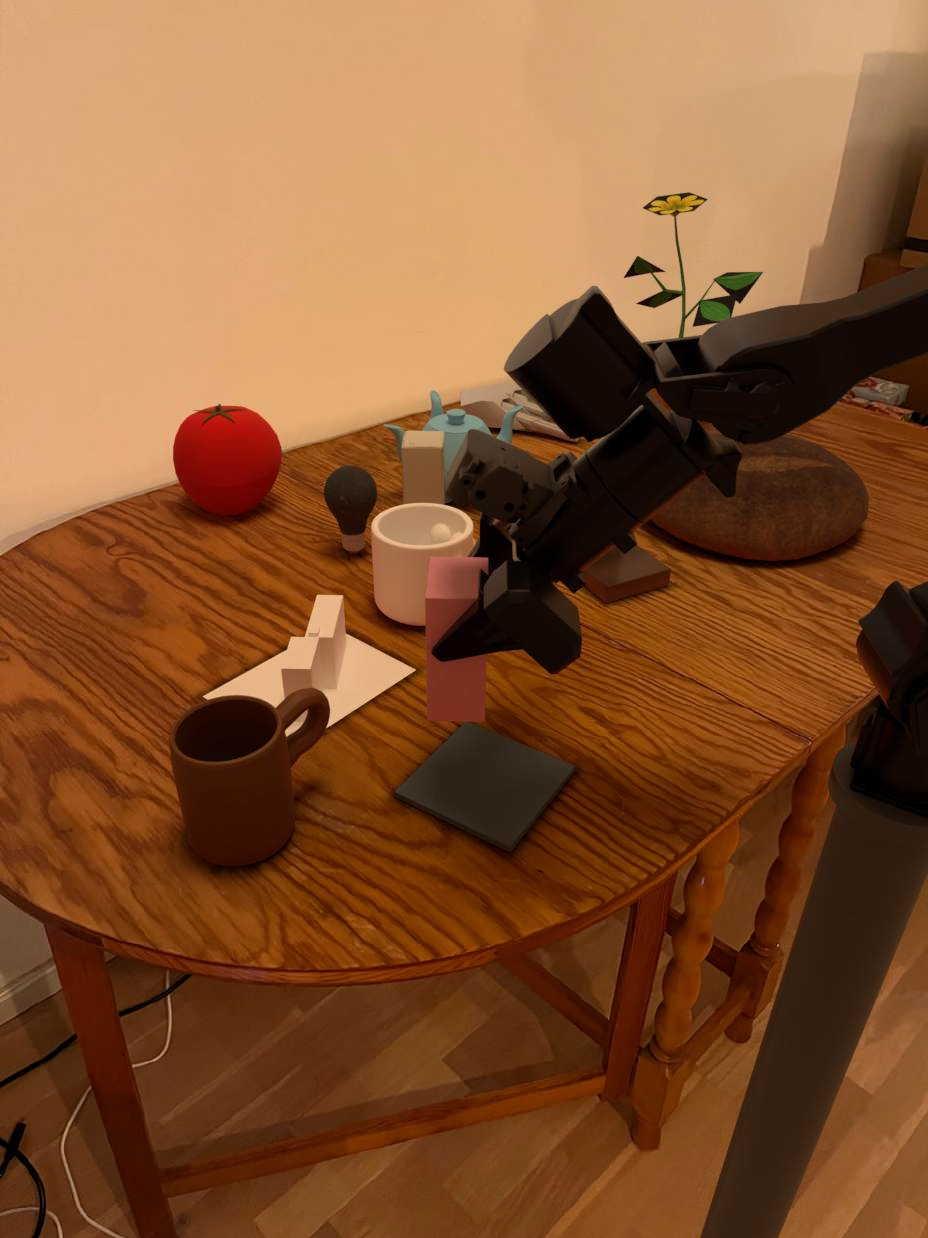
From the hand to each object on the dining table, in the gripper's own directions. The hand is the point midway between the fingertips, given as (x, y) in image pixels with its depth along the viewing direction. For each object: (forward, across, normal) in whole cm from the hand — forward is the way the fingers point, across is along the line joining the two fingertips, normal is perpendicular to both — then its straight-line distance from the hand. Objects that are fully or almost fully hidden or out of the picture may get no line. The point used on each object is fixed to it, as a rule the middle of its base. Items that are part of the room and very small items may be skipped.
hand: (438, 632), depth 62 cm
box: (+12, -37, +7) cm, 40 cm away
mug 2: (+11, -24, +8) cm, 28 cm away
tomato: (+29, -47, -9) cm, 56 cm away
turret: (+4, -76, +16) cm, 77 cm away
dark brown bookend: (-2, -32, +21) cm, 39 cm away
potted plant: (-12, -80, +31) cm, 87 cm away
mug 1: (+18, +4, +1) cm, 19 cm away
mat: (+7, 0, +12) cm, 14 cm away
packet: (+3, 0, +5) cm, 6 cm away
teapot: (+10, -53, +9) cm, 55 cm away
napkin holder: (+18, -12, +1) cm, 22 cm away
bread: (-14, -48, +34) cm, 61 cm away
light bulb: (+18, -36, +2) cm, 40 cm away
